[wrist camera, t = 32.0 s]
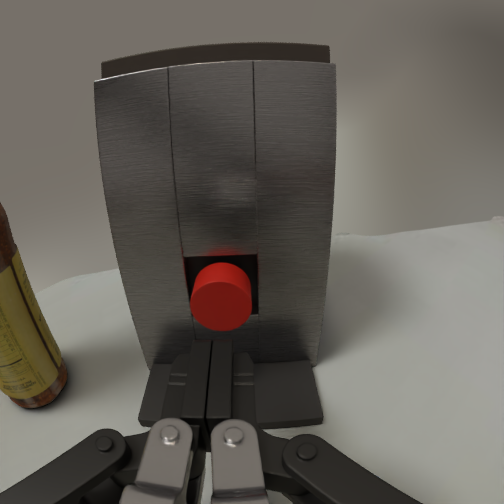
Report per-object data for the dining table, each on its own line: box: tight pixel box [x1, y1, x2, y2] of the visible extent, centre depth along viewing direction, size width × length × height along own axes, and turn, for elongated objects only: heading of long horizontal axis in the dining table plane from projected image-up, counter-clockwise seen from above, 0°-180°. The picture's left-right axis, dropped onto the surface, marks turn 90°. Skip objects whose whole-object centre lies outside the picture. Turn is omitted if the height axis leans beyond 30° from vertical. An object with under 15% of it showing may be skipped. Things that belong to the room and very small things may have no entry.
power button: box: [190, 263, 252, 331], centre depth 17 cm, size 2×3×3 cm, turn 92°
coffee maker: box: [94, 42, 336, 429], centre depth 20 cm, size 18×12×20 cm, turn 2°
